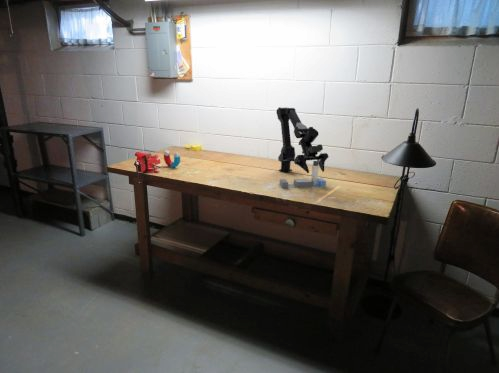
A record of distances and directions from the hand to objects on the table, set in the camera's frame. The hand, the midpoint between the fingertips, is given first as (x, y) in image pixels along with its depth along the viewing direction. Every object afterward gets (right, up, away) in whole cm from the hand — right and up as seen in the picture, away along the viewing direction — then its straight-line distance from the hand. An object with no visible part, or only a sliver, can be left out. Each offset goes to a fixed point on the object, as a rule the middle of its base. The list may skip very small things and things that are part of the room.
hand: (316, 172), depth 190 cm
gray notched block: (-7, -8, +2) cm, 11 cm away
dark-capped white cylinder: (-1, -7, +3) cm, 7 cm away
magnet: (-84, +4, +34) cm, 91 cm away
